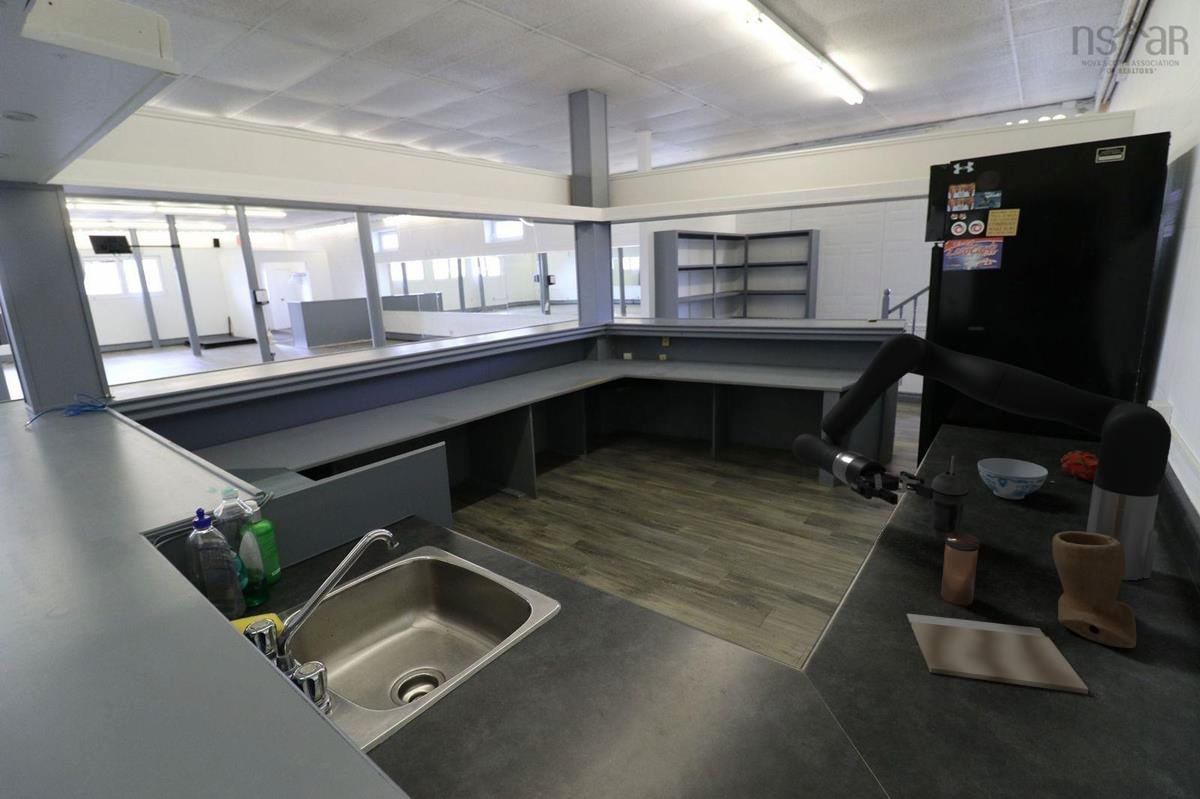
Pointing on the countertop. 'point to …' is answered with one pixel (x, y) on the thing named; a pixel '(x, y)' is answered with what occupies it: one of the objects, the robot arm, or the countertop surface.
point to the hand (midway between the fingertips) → (914, 497)
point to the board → (996, 657)
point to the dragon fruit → (1080, 464)
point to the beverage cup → (948, 502)
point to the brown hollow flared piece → (1093, 588)
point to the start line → (975, 625)
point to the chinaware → (1011, 476)
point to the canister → (959, 568)
